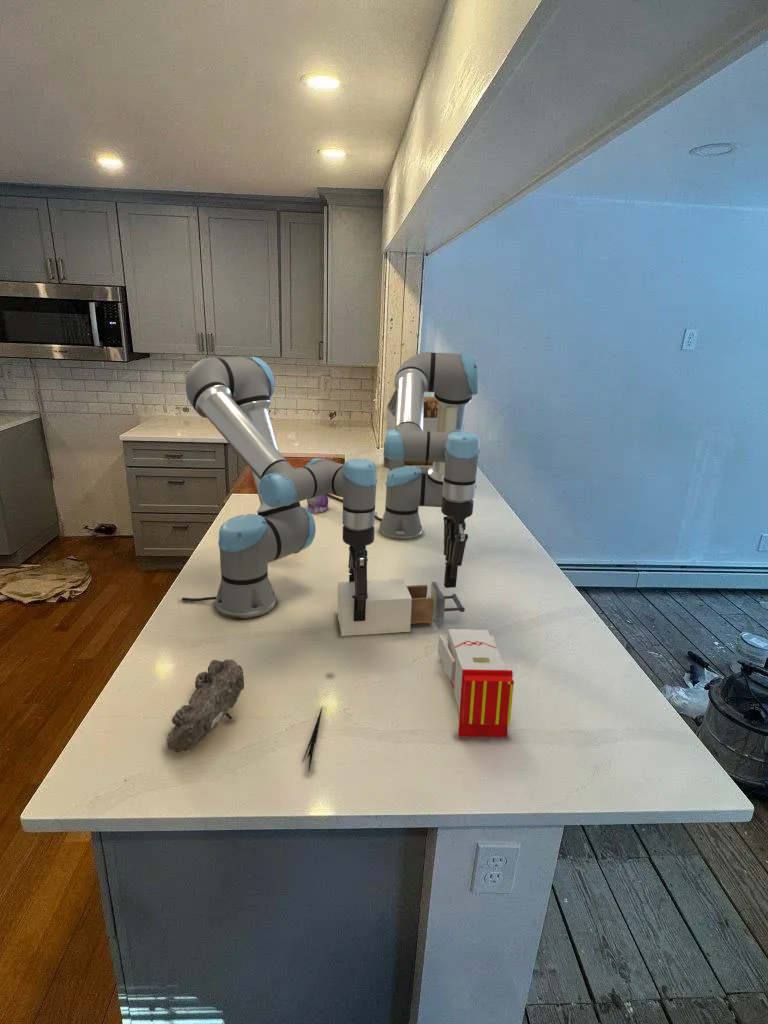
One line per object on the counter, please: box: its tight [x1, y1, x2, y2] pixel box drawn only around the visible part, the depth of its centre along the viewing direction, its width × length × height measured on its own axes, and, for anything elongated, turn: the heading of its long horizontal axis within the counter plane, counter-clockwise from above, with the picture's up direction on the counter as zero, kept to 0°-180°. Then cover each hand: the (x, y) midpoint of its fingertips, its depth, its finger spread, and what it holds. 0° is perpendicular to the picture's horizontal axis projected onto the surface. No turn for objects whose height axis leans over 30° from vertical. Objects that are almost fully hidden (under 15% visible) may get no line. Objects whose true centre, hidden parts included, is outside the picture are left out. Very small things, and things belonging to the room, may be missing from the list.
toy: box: [437, 628, 515, 738], centre depth 117 cm, size 12×13×30 cm
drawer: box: [406, 581, 466, 626], centre depth 143 cm, size 21×9×7 cm, turn 100°
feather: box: [301, 673, 332, 771], centre depth 108 cm, size 2×28×2 cm
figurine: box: [306, 494, 329, 514], centre depth 217 cm, size 9×10×15 cm
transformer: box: [383, 389, 465, 472], centre depth 268 cm, size 34×33×41 cm
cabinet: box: [337, 578, 412, 637], centre depth 141 cm, size 17×10×9 cm, turn 100°
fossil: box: [166, 658, 245, 754], centre depth 106 cm, size 22×10×15 cm
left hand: (356, 608), depth 140 cm, fingers closed on cabinet, 10 cm apart
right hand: (449, 586), depth 143 cm, fingers closed
